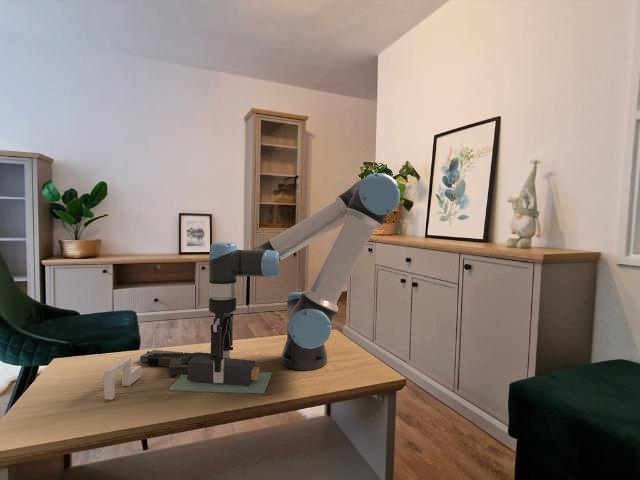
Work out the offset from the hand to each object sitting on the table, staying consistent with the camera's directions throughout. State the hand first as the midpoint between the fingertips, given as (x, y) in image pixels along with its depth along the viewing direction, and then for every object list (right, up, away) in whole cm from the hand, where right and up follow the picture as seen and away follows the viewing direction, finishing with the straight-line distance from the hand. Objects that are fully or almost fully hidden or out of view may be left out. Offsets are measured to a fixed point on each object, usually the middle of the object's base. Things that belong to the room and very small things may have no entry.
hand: (221, 377), depth 103 cm
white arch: (-26, -1, -4) cm, 26 cm away
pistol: (-18, 0, +11) cm, 21 cm away
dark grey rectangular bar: (0, -1, 0) cm, 1 cm away
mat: (0, -1, 0) cm, 1 cm away
